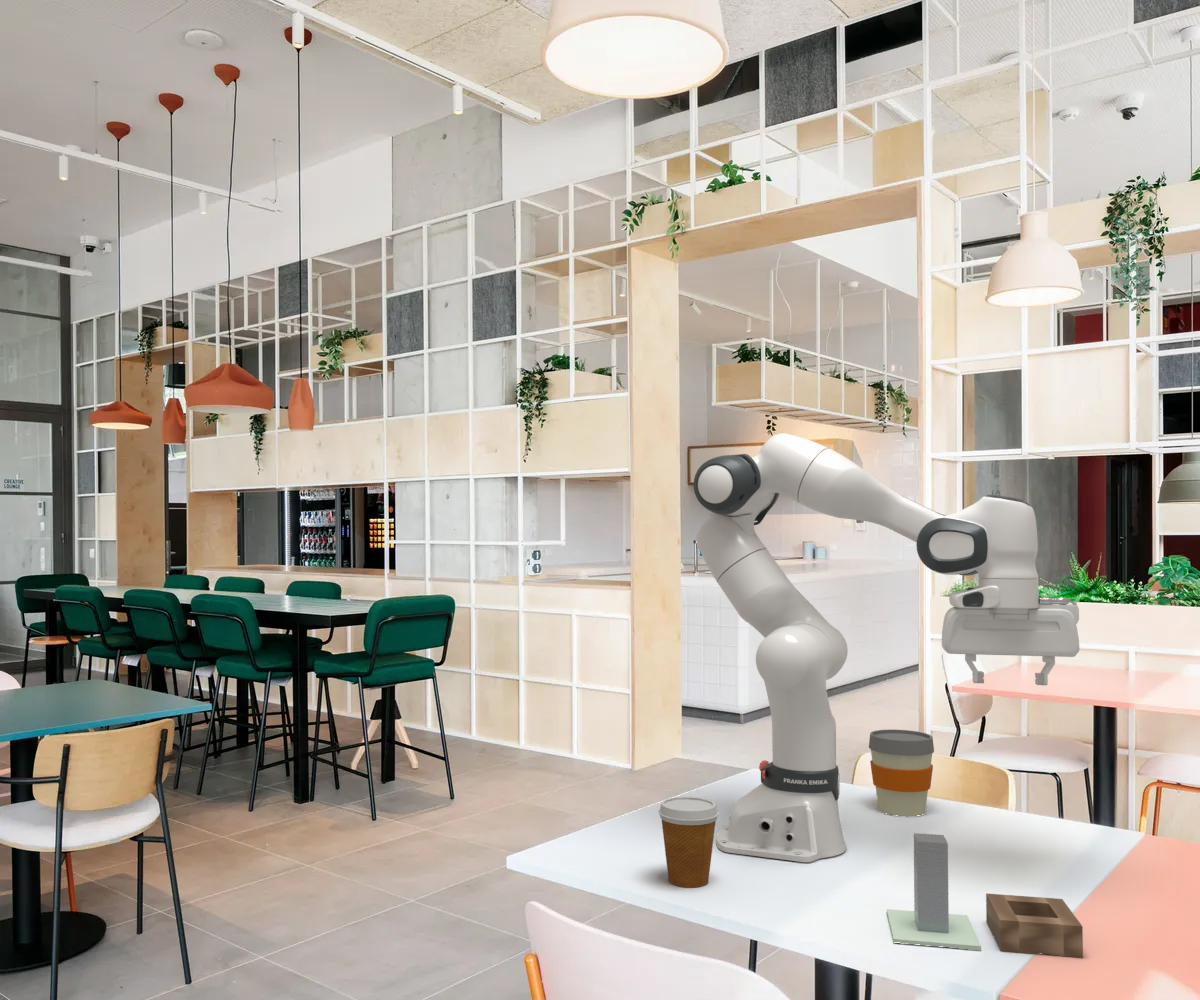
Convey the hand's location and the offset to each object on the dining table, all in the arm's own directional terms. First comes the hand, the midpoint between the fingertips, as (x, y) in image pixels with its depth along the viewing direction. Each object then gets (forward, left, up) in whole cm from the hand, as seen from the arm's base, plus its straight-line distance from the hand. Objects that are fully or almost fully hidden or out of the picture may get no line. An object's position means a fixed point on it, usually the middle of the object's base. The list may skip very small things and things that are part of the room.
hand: (1009, 683), depth 156 cm
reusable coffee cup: (-13, +40, -31) cm, 52 cm away
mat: (-15, -23, -31) cm, 41 cm away
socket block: (-2, -23, -31) cm, 39 cm away
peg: (-15, -23, -30) cm, 41 cm away
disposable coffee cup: (-50, -10, -31) cm, 60 cm away
